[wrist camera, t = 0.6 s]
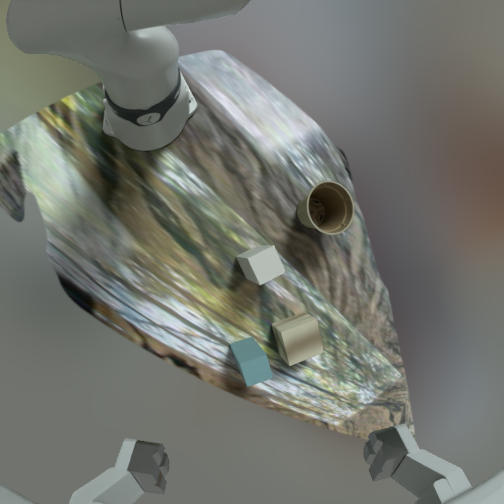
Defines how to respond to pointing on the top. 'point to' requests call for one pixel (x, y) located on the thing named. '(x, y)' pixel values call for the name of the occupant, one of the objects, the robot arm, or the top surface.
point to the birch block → (297, 338)
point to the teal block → (251, 361)
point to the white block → (261, 264)
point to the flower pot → (327, 208)
